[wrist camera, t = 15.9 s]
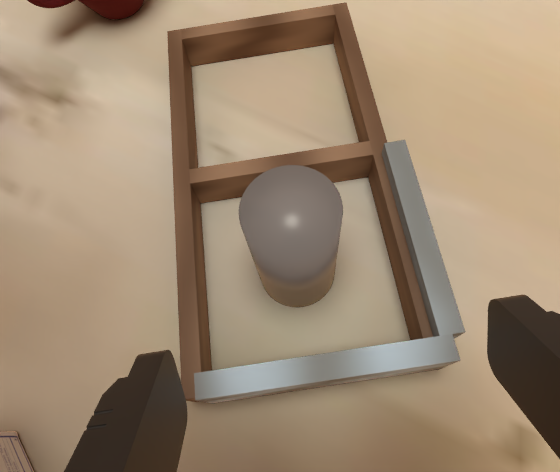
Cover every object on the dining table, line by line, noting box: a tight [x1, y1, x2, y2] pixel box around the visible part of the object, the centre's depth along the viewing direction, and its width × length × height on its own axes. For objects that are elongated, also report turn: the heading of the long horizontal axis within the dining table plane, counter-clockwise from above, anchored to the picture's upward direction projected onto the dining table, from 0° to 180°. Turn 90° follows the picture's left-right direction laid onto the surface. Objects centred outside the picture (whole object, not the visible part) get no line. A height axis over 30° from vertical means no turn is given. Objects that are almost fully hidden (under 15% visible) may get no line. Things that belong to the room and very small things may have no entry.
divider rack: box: [168, 3, 465, 403], centre depth 26 cm, size 14×25×4 cm, turn 8°
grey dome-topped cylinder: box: [239, 165, 343, 307], centre depth 22 cm, size 4×4×8 cm
